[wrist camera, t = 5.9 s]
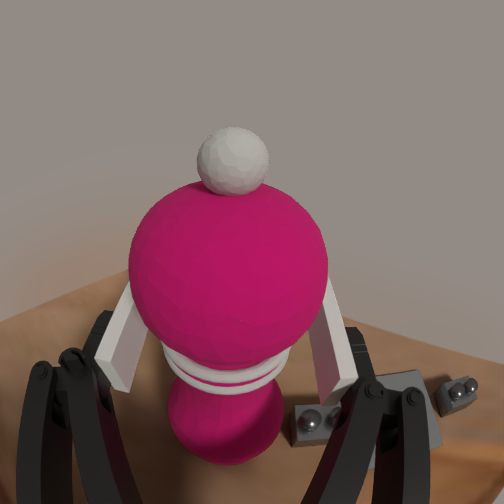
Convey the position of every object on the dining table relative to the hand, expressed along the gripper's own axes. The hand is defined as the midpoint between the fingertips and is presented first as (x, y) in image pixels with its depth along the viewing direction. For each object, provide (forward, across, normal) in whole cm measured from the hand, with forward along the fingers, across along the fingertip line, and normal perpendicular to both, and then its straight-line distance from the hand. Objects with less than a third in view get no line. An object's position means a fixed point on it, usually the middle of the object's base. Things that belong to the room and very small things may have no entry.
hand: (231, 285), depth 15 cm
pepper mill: (-5, 0, -11) cm, 12 cm away
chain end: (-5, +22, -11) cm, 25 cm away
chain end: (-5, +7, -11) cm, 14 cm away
